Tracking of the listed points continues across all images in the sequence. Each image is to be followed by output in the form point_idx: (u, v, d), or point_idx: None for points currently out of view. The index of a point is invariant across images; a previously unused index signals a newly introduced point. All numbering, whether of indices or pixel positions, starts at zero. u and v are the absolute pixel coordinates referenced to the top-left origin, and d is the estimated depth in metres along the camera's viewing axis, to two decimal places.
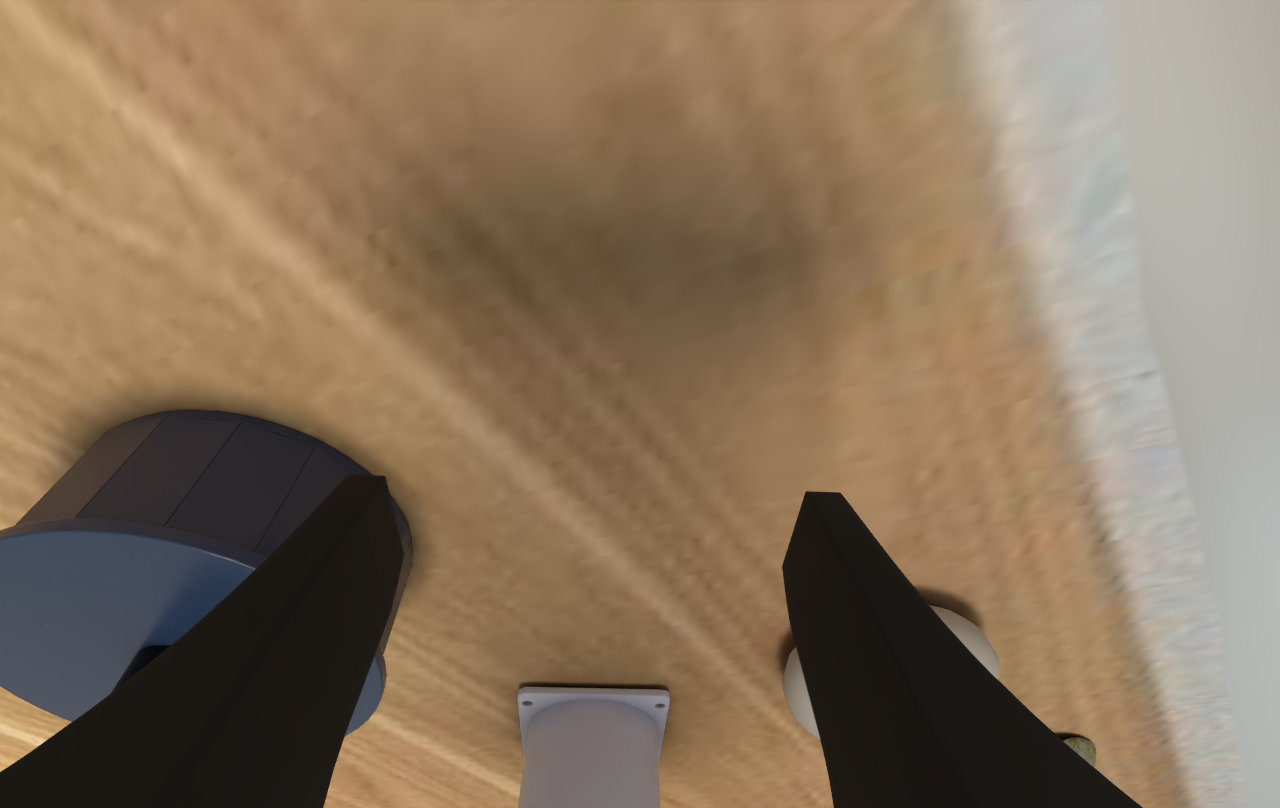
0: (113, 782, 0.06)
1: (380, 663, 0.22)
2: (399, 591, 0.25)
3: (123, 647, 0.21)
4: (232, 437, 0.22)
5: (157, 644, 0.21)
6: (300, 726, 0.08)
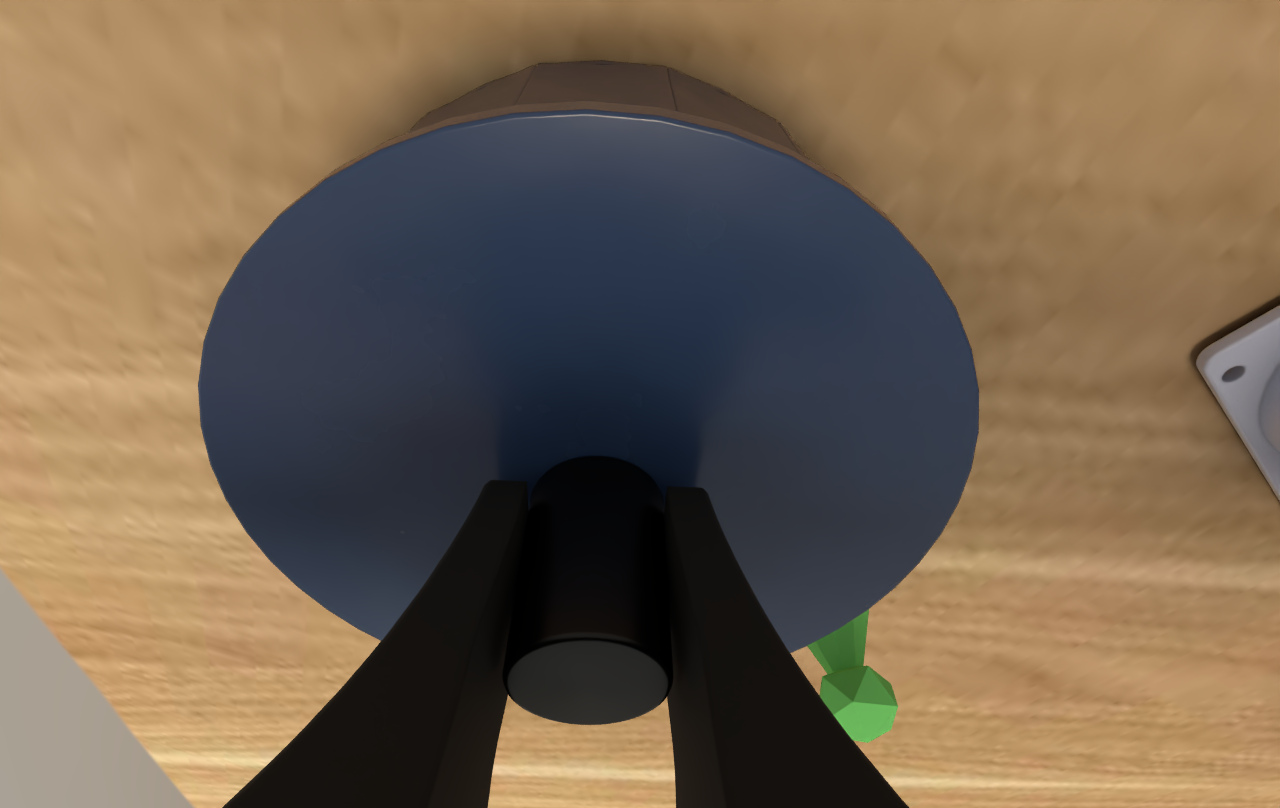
0: (373, 785, 0.06)
1: None
2: None
3: None
4: (418, 124, 0.12)
5: (540, 473, 0.11)
6: (480, 729, 0.08)
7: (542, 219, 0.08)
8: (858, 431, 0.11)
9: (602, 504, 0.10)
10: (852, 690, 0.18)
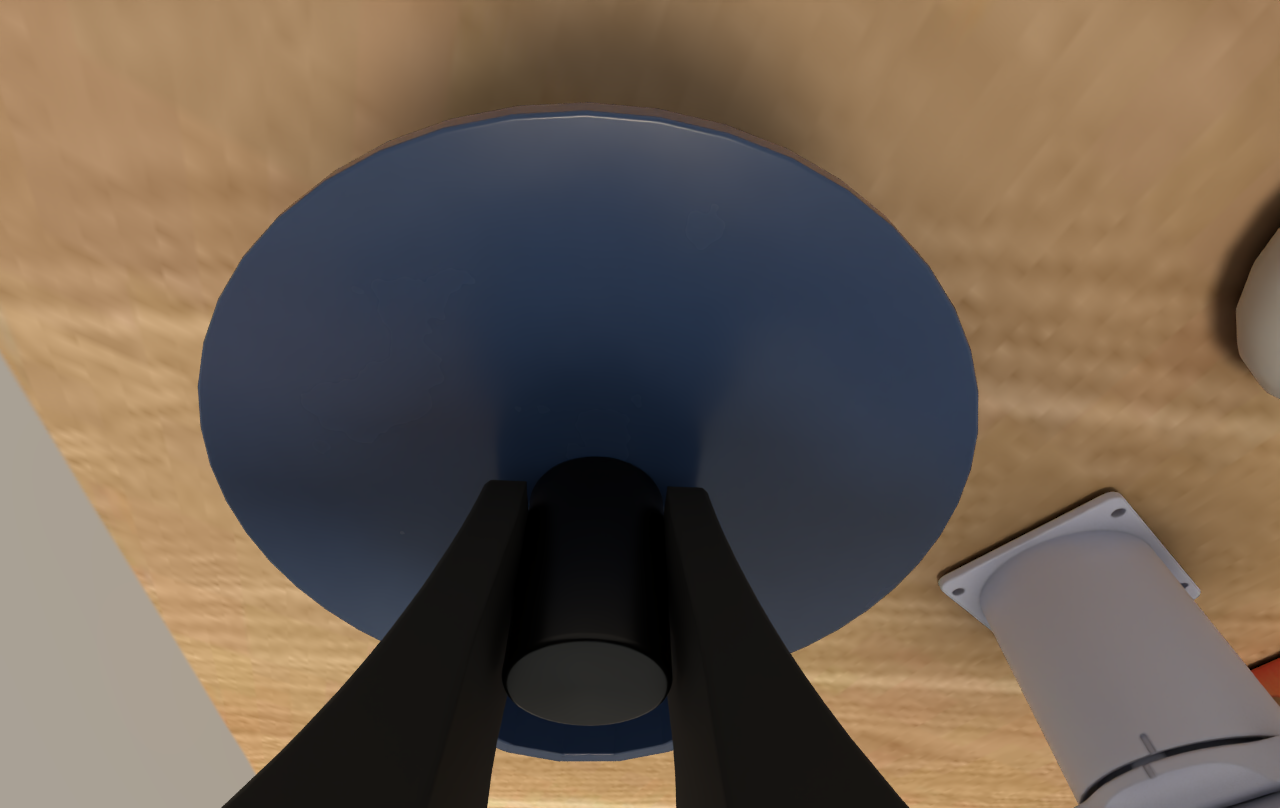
0: (371, 785, 0.06)
1: None
2: None
3: None
4: None
5: (540, 474, 0.11)
6: (480, 729, 0.08)
7: (541, 220, 0.09)
8: (857, 432, 0.11)
9: (601, 505, 0.10)
10: None
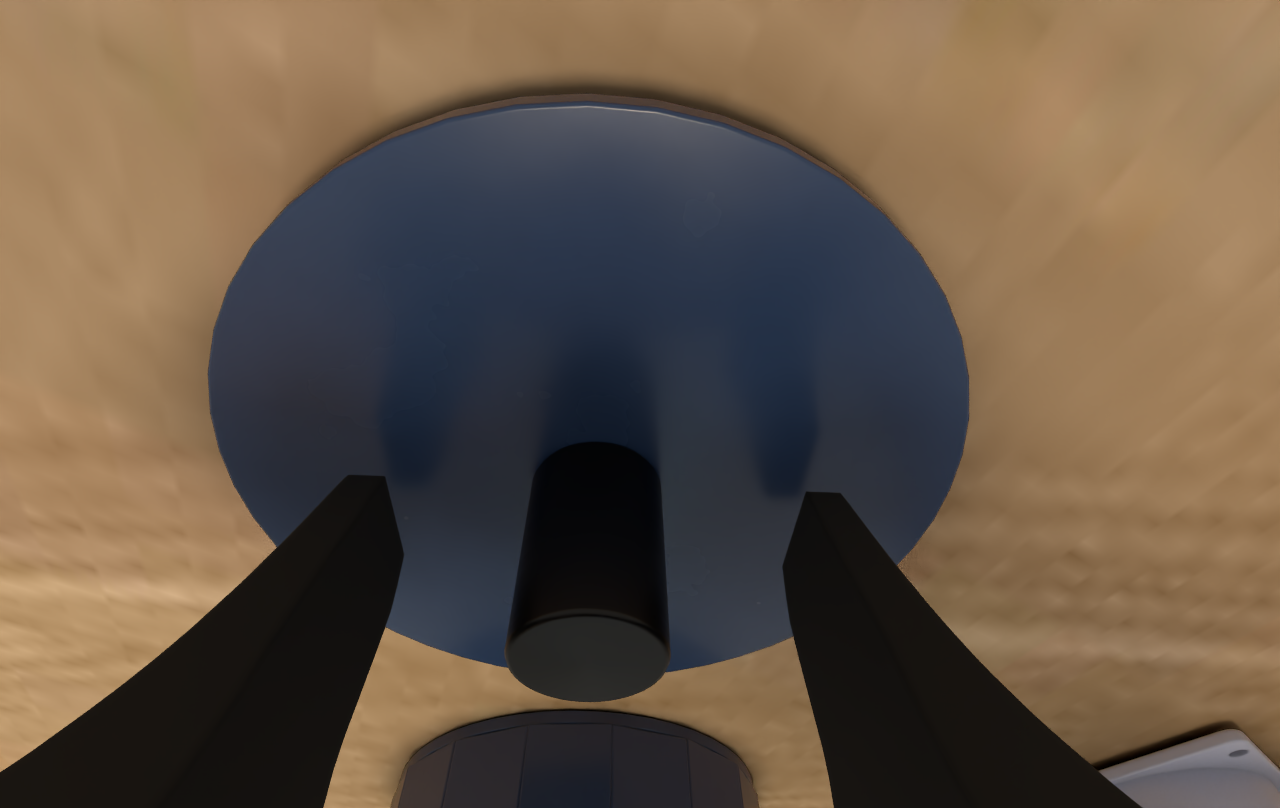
0: (113, 783, 0.06)
1: None
2: None
3: (512, 498, 0.12)
4: (451, 767, 0.19)
5: (541, 459, 0.12)
6: (300, 726, 0.08)
7: (543, 208, 0.09)
8: (851, 417, 0.11)
9: (601, 488, 0.10)
10: None
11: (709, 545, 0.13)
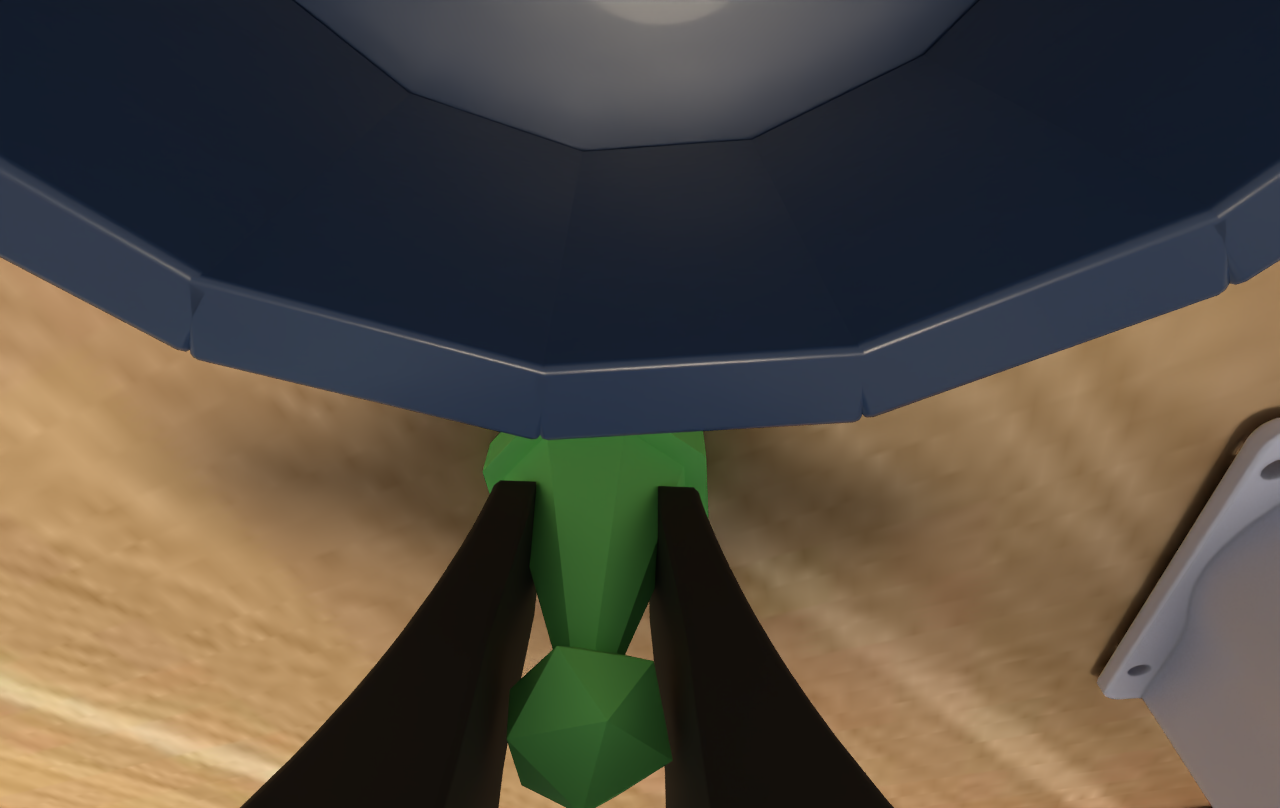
0: (389, 785, 0.06)
1: None
2: None
3: None
4: None
5: None
6: (493, 729, 0.08)
7: None
8: None
9: None
10: (610, 696, 0.08)
11: None
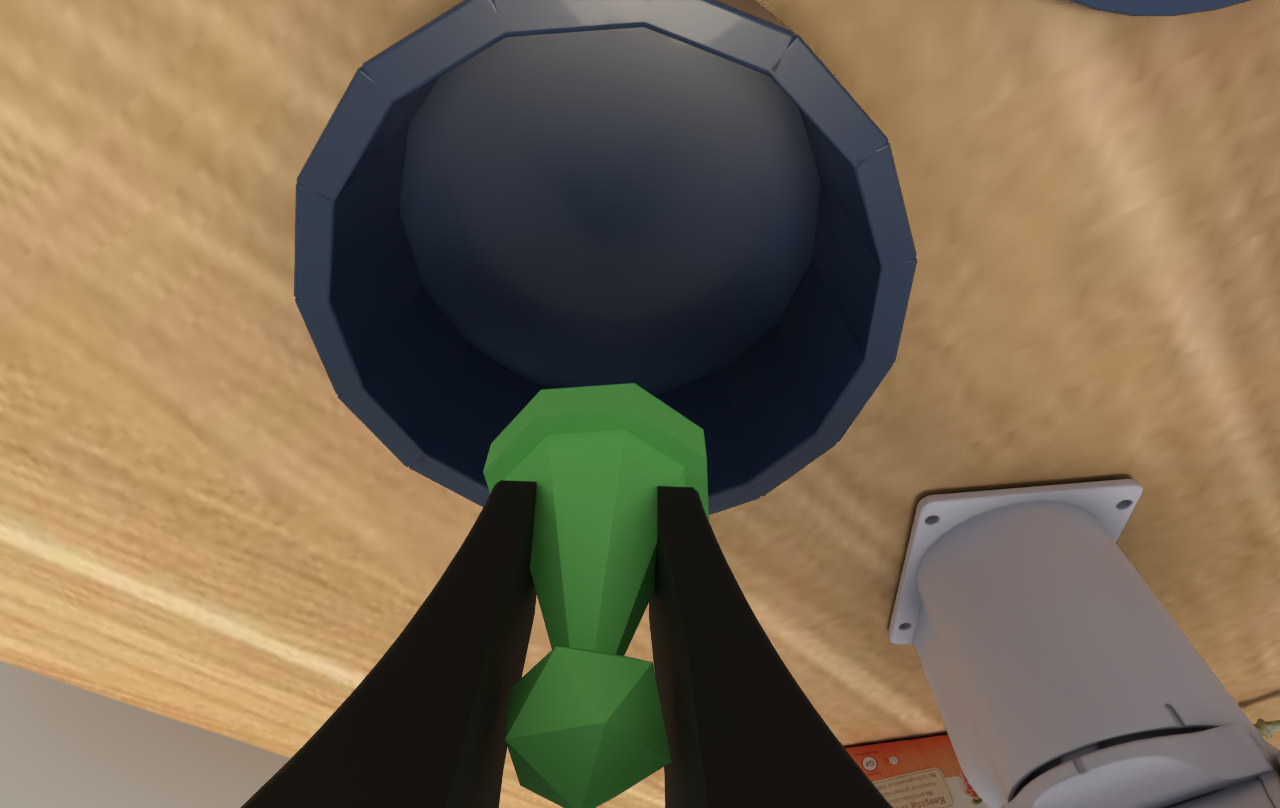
0: (390, 786, 0.06)
1: None
2: None
3: None
4: None
5: None
6: (493, 729, 0.08)
7: None
8: None
9: None
10: (609, 697, 0.08)
11: None
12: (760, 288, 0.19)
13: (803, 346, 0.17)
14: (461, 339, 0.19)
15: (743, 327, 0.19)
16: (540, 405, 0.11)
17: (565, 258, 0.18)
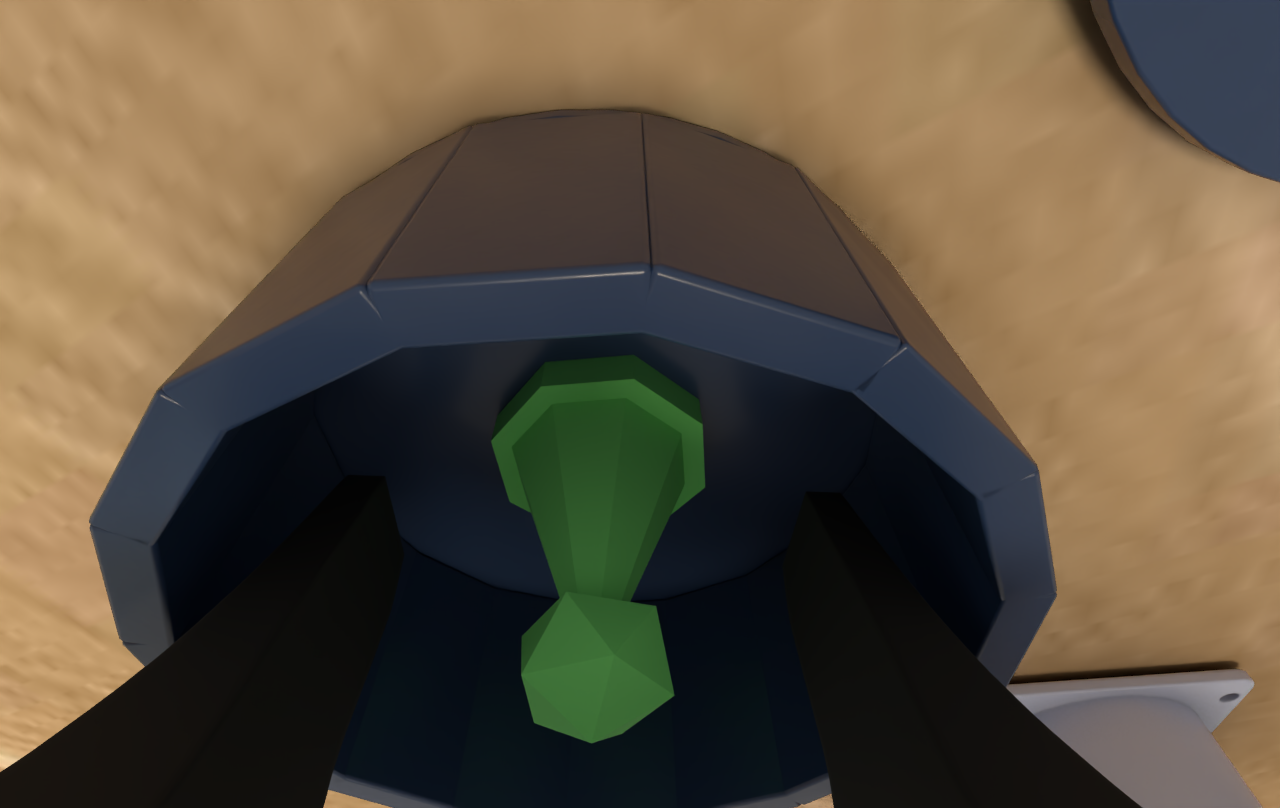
0: (113, 782, 0.06)
1: None
2: None
3: None
4: (647, 129, 0.09)
5: None
6: (300, 726, 0.08)
7: None
8: None
9: None
10: (616, 635, 0.09)
11: None
12: (794, 493, 0.14)
13: None
14: (408, 549, 0.15)
15: (771, 532, 0.15)
16: (545, 376, 0.12)
17: None
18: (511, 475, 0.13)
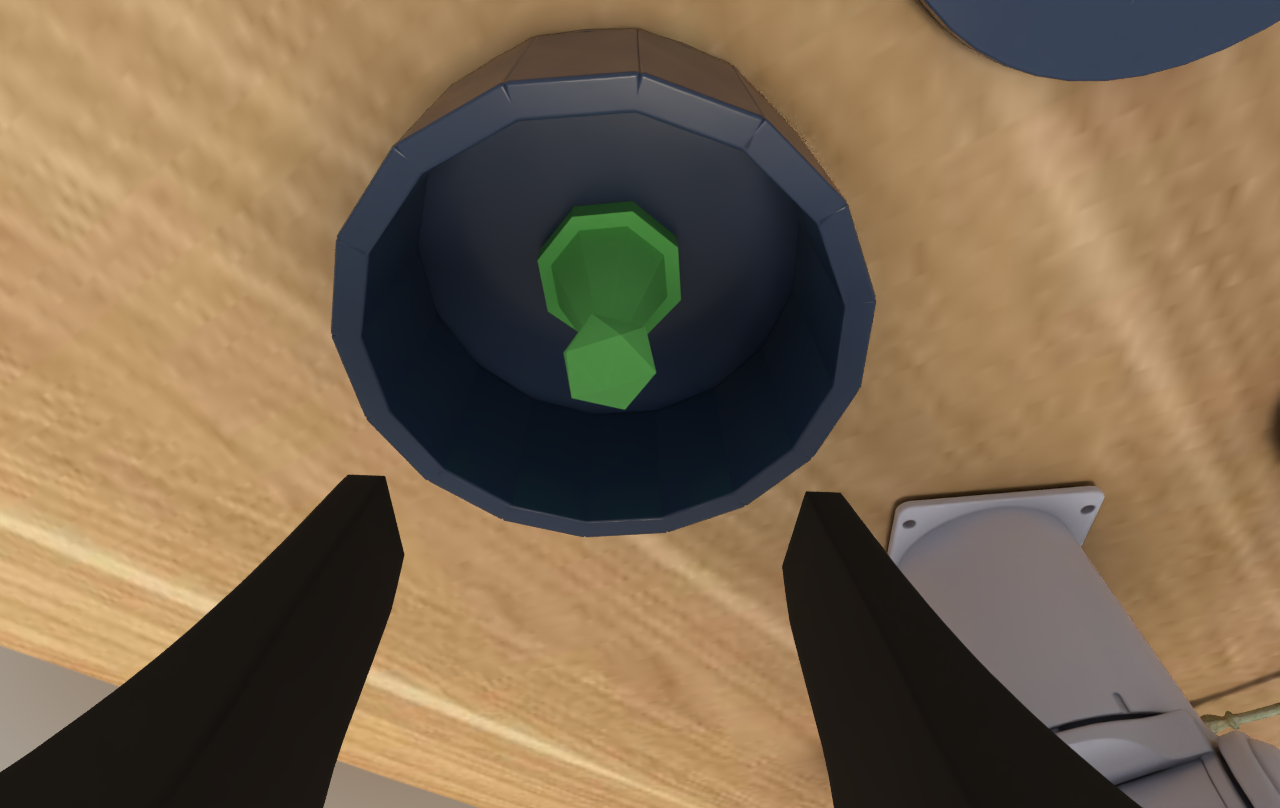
0: (113, 782, 0.06)
1: None
2: None
3: None
4: (640, 35, 0.15)
5: None
6: (300, 726, 0.08)
7: None
8: None
9: None
10: (622, 331, 0.15)
11: None
12: (745, 315, 0.20)
13: (783, 369, 0.19)
14: (473, 361, 0.21)
15: (730, 349, 0.21)
16: (574, 212, 0.18)
17: None
18: (549, 289, 0.19)
